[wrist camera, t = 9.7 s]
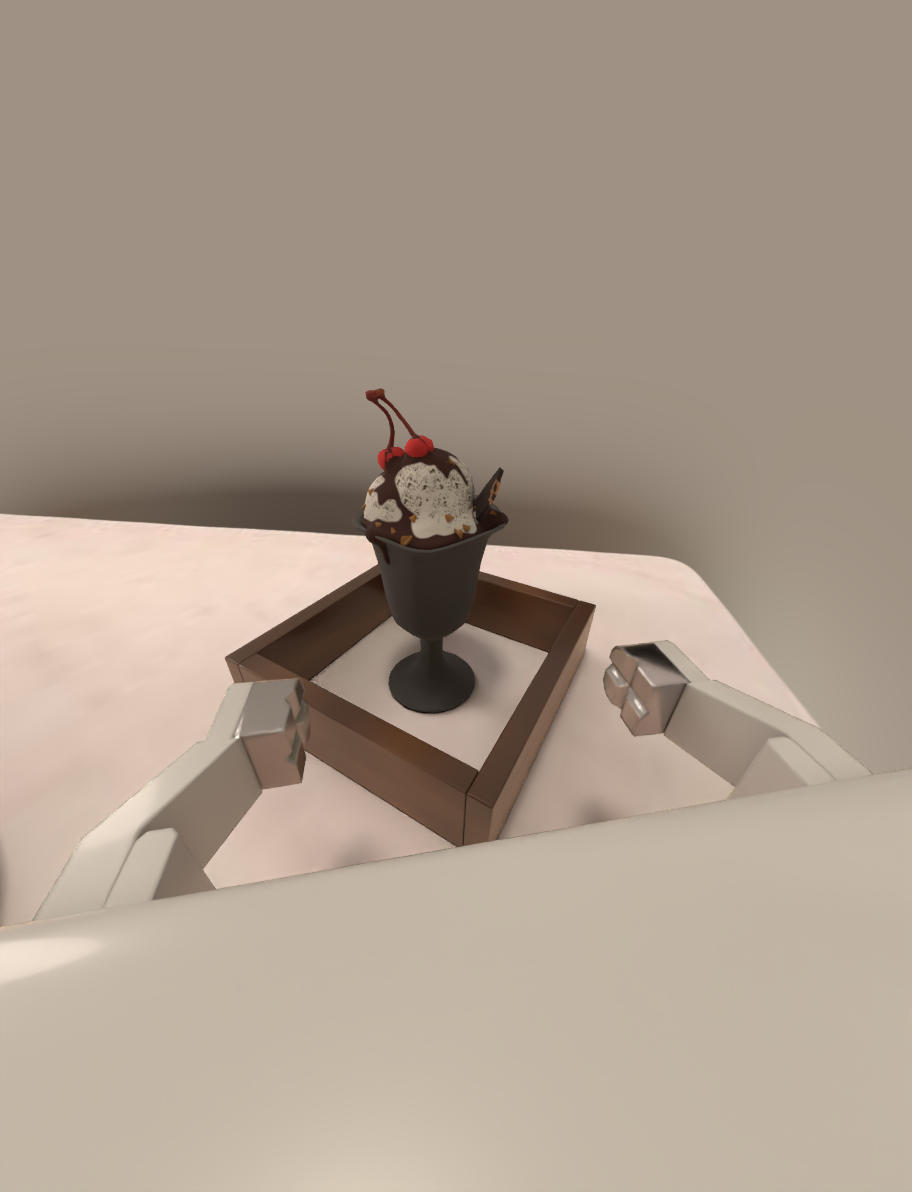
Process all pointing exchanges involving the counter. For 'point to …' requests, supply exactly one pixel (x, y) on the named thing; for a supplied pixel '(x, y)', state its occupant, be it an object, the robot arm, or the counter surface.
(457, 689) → the sundae
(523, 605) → the brown wooden square frame
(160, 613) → the counter surface
